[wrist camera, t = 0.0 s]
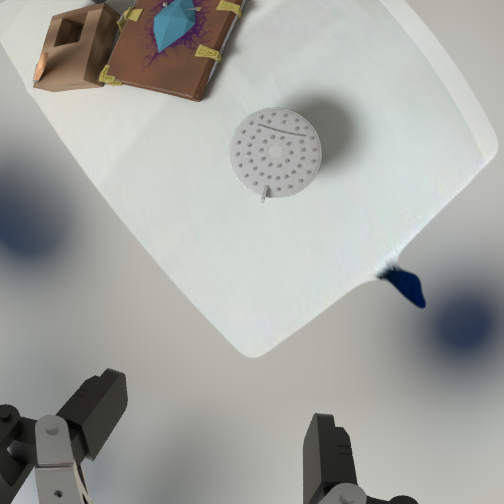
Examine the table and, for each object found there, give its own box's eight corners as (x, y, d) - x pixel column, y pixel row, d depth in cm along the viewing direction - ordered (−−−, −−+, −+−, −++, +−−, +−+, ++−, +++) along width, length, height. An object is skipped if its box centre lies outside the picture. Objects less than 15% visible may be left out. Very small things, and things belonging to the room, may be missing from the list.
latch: (42, 65, 32) (36, 64, 31) (50, 48, 26) (43, 47, 25) (38, 82, 32) (32, 82, 32) (45, 69, 26) (38, 68, 26)
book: (268, -33, 31) (267, -52, 26) (204, 108, 38) (195, 101, 33) (167, -47, 30) (158, -63, 25) (101, 84, 37) (84, 77, 32)
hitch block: (70, 25, 34) (52, 16, 29) (120, 15, 33) (104, 2, 29) (53, 92, 37) (33, 87, 32) (102, 87, 37) (83, 80, 32)
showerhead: (216, 191, 32) (240, 96, 29) (228, 187, 39) (248, 109, 36) (307, 215, 31) (332, 119, 29) (303, 207, 38) (324, 128, 36)
